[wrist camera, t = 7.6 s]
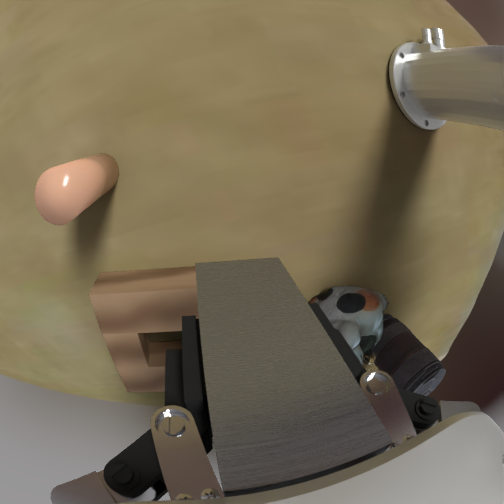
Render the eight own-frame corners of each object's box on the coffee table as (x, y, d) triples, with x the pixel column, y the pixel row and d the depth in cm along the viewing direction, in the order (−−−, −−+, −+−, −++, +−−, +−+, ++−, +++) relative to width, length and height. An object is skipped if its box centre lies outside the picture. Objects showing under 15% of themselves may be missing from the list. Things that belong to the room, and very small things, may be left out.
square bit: (195, 263, 13) (222, 491, 4) (278, 257, 13) (393, 442, 4) (201, 328, 14) (230, 513, 5) (272, 320, 15) (345, 485, 6)
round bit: (82, 156, 22) (31, 172, 13) (118, 151, 23) (78, 162, 14) (85, 194, 23) (40, 227, 15) (120, 190, 24) (85, 222, 15)
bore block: (99, 272, 27) (88, 294, 23) (220, 264, 30) (225, 285, 26) (130, 368, 34) (128, 392, 30) (224, 362, 37) (229, 386, 33)
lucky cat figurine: (356, 345, 42) (353, 421, 32) (290, 331, 43) (274, 409, 33) (399, 286, 32) (413, 380, 22) (317, 265, 33) (306, 364, 23)
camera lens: (395, 332, 44) (441, 386, 31) (359, 353, 43) (401, 414, 30) (396, 301, 40) (452, 359, 27) (356, 324, 40) (408, 392, 26)
